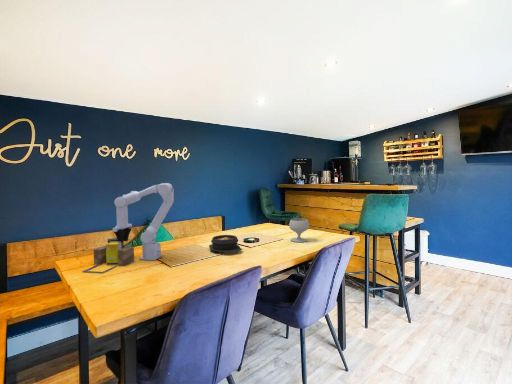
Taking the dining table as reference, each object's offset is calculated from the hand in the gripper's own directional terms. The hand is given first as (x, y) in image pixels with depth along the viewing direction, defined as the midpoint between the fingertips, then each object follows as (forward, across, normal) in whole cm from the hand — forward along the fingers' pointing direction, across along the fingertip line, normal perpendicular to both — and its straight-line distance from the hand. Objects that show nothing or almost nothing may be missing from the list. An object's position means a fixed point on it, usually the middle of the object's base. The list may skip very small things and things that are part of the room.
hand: (123, 242), depth 160 cm
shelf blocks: (+9, +8, 0) cm, 12 cm away
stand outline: (+9, +18, 0) cm, 20 cm away
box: (+10, -3, -7) cm, 12 cm away
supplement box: (+10, +8, 0) cm, 12 cm away
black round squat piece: (+10, -25, +52) cm, 59 cm away
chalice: (+10, -58, +97) cm, 113 cm away
